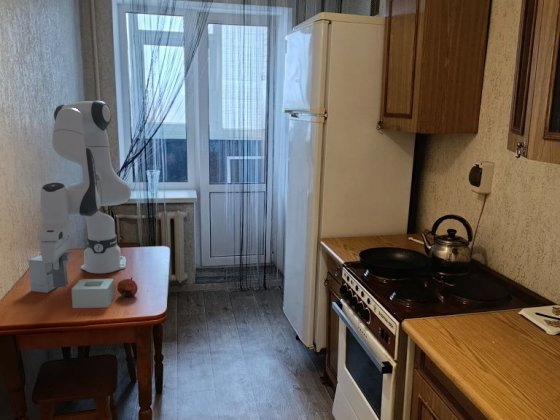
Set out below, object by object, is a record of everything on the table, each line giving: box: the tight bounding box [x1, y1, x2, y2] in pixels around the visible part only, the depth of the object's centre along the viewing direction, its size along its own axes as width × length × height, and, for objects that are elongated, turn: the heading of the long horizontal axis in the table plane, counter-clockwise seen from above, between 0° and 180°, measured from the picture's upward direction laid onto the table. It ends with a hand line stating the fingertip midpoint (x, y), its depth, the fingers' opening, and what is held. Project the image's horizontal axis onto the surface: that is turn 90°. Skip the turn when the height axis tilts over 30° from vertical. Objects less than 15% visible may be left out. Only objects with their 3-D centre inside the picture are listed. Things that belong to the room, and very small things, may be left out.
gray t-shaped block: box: [52, 252, 71, 288], centre depth 168 cm, size 3×7×12 cm, turn 97°
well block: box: [71, 278, 116, 309], centre depth 169 cm, size 10×12×7 cm
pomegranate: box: [116, 277, 139, 301], centre depth 175 cm, size 7×7×10 cm
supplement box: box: [28, 254, 57, 293], centre depth 180 cm, size 7×7×13 cm
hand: (59, 266), depth 167 cm, fingers closed on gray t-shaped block, 3 cm apart
